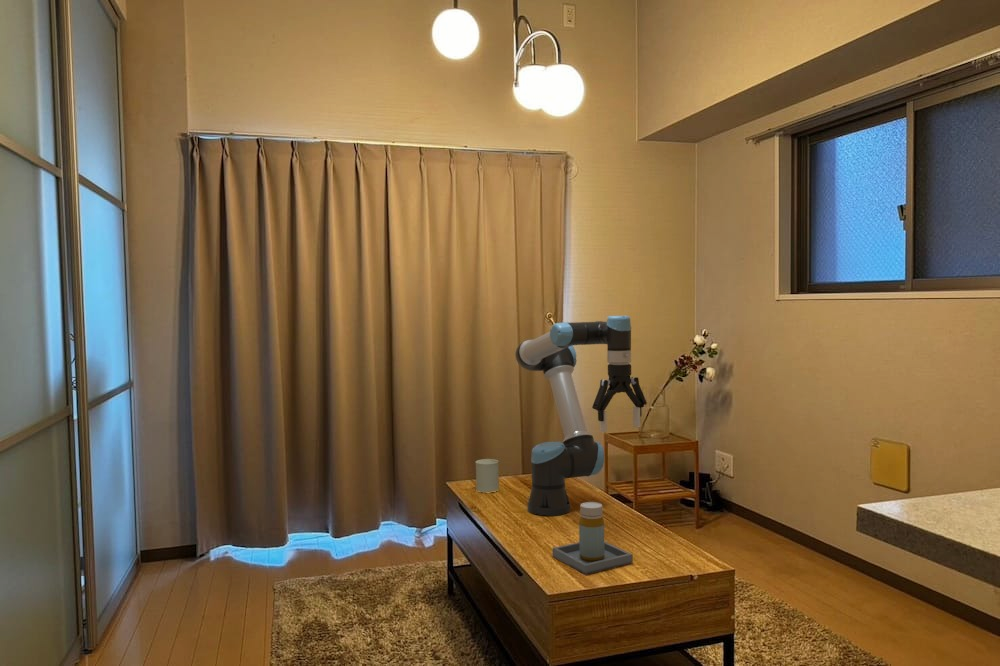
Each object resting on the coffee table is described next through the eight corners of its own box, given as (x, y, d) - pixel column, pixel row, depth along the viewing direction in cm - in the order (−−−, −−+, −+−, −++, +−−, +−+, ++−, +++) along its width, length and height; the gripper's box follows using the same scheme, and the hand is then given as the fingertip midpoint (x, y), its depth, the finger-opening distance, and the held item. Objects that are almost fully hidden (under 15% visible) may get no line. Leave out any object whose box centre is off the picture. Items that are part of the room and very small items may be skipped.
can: (499, 493, 266) (498, 462, 265) (475, 493, 266) (475, 463, 265) (499, 487, 275) (498, 457, 275) (476, 487, 275) (475, 457, 274)
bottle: (589, 563, 189) (588, 510, 188) (574, 556, 195) (574, 503, 195) (609, 559, 192) (608, 506, 192) (595, 551, 198) (594, 500, 198)
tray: (552, 556, 197) (552, 548, 197) (597, 546, 205) (597, 538, 204) (585, 575, 183) (585, 565, 183) (632, 563, 190) (632, 554, 190)
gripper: (595, 366, 212) (596, 434, 212) (657, 362, 224) (657, 426, 224) (580, 365, 218) (581, 431, 219) (641, 360, 230) (642, 423, 231)
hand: (620, 429), depth 222 cm, fingers open, 13 cm apart
